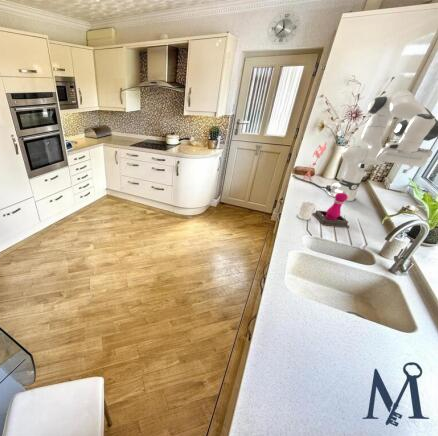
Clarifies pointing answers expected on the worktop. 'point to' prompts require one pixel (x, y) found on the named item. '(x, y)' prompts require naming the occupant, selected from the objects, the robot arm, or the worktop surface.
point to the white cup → (306, 210)
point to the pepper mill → (336, 206)
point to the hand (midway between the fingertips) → (393, 170)
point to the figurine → (317, 158)
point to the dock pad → (328, 222)
